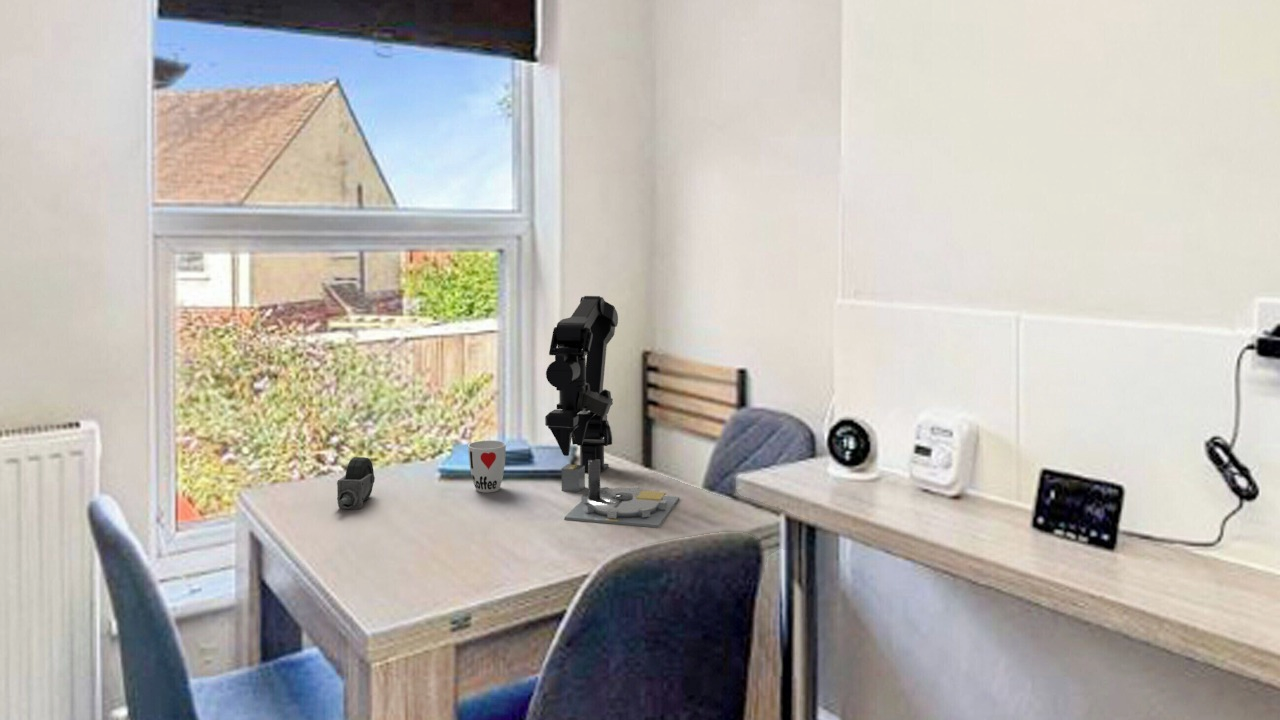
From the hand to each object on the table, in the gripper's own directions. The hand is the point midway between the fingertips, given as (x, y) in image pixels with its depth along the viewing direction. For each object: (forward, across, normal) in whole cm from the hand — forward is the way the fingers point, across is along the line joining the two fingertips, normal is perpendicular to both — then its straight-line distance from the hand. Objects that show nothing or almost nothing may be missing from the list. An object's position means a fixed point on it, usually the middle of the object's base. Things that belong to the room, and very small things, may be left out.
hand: (573, 450), depth 197 cm
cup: (+9, -5, +18) cm, 21 cm away
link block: (+9, 0, 0) cm, 9 cm away
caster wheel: (+9, -22, +40) cm, 47 cm away
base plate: (+8, -11, -14) cm, 20 cm away
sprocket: (+8, -11, -14) cm, 20 cm away
